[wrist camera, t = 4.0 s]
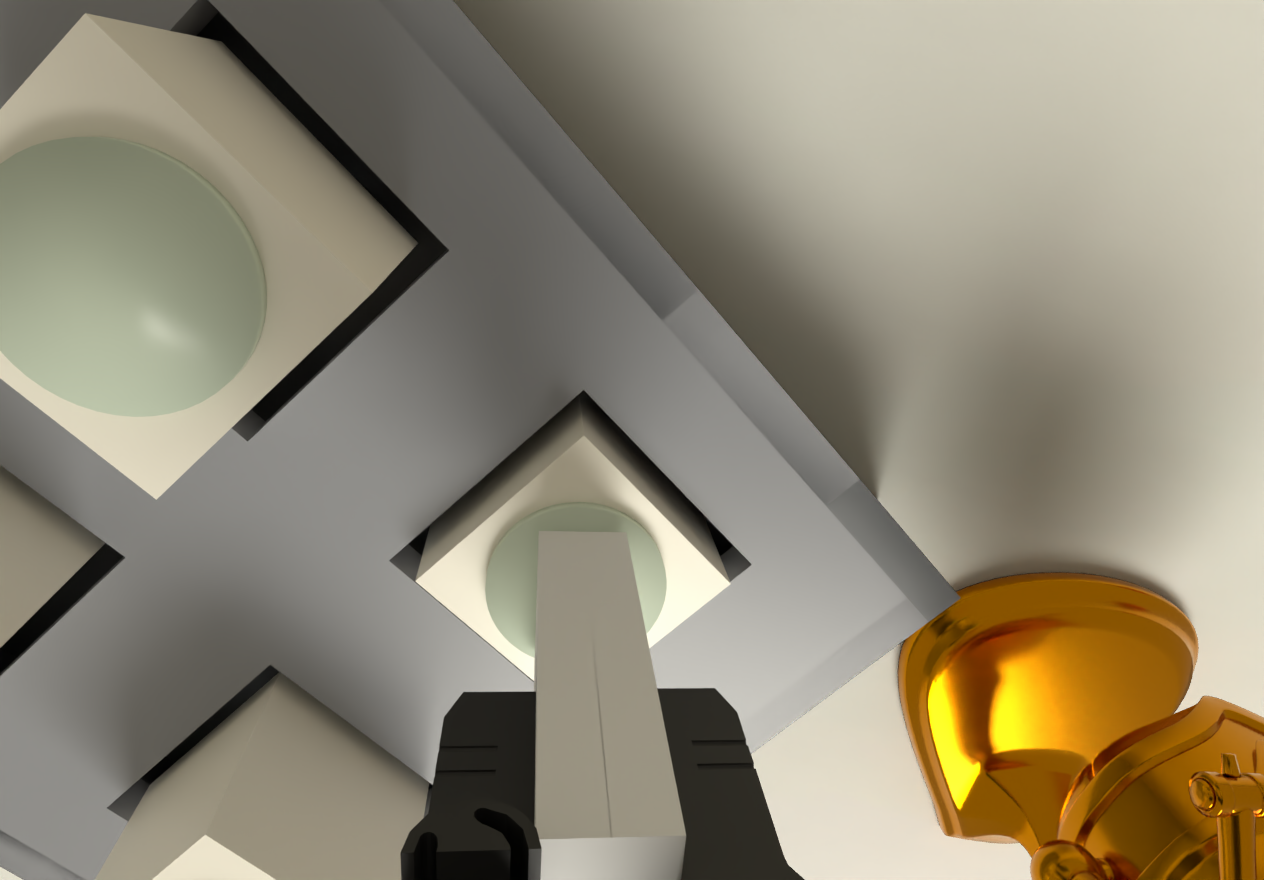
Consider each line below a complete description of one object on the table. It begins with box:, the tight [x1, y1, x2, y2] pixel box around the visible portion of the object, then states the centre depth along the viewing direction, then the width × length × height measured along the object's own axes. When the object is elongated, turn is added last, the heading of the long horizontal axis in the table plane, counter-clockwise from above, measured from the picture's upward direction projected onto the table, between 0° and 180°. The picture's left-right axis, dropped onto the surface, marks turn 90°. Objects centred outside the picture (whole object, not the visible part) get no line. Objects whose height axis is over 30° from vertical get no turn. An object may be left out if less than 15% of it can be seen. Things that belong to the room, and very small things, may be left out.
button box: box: [0, 0, 960, 880], centre depth 17 cm, size 20×18×4 cm
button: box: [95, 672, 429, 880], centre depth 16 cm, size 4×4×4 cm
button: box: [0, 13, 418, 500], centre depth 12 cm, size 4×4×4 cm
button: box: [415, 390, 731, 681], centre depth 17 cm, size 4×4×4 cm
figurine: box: [898, 572, 1264, 880], centre depth 18 cm, size 9×11×12 cm
